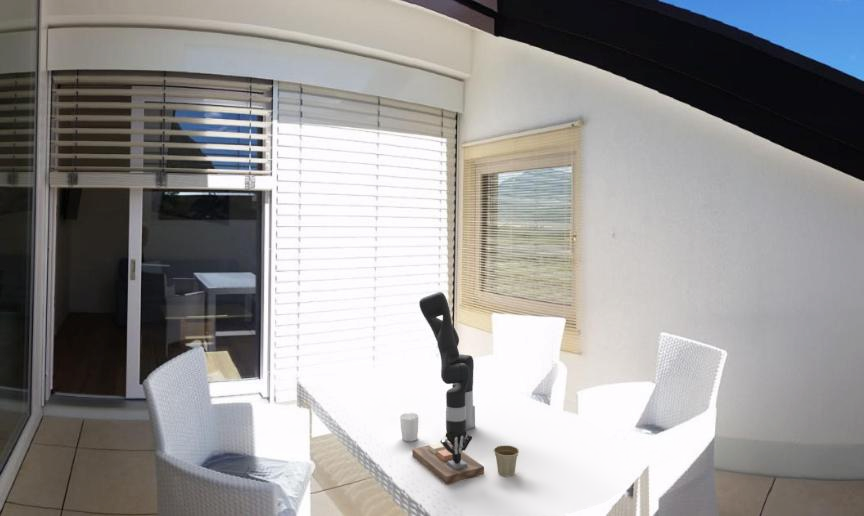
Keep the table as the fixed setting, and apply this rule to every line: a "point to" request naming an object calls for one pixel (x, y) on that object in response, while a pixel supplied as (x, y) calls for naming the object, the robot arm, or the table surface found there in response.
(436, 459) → the button board
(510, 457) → the flower pot
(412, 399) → the table surface
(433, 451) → the cream pad
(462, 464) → the grey pad
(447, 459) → the terracotta pad
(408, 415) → the white cup
